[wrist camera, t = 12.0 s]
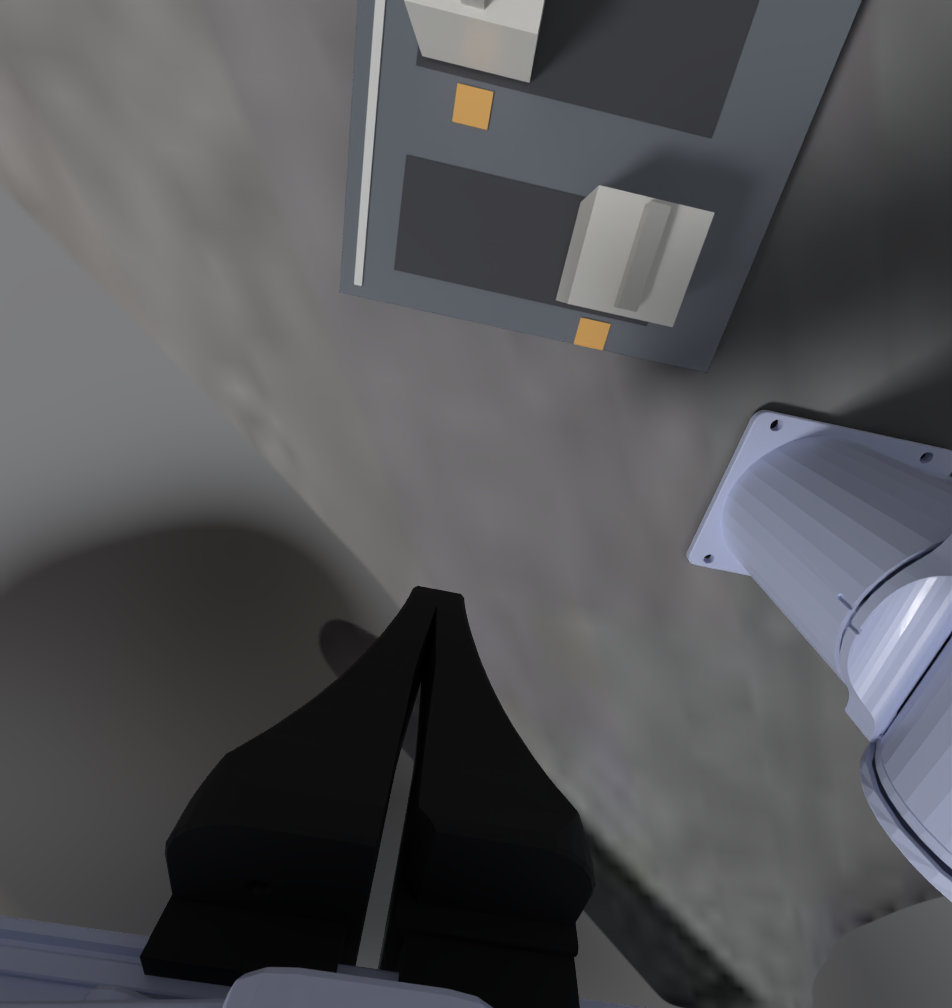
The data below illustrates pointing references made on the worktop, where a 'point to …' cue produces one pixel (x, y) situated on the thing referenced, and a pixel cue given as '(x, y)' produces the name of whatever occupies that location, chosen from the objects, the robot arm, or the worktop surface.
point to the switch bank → (578, 157)
